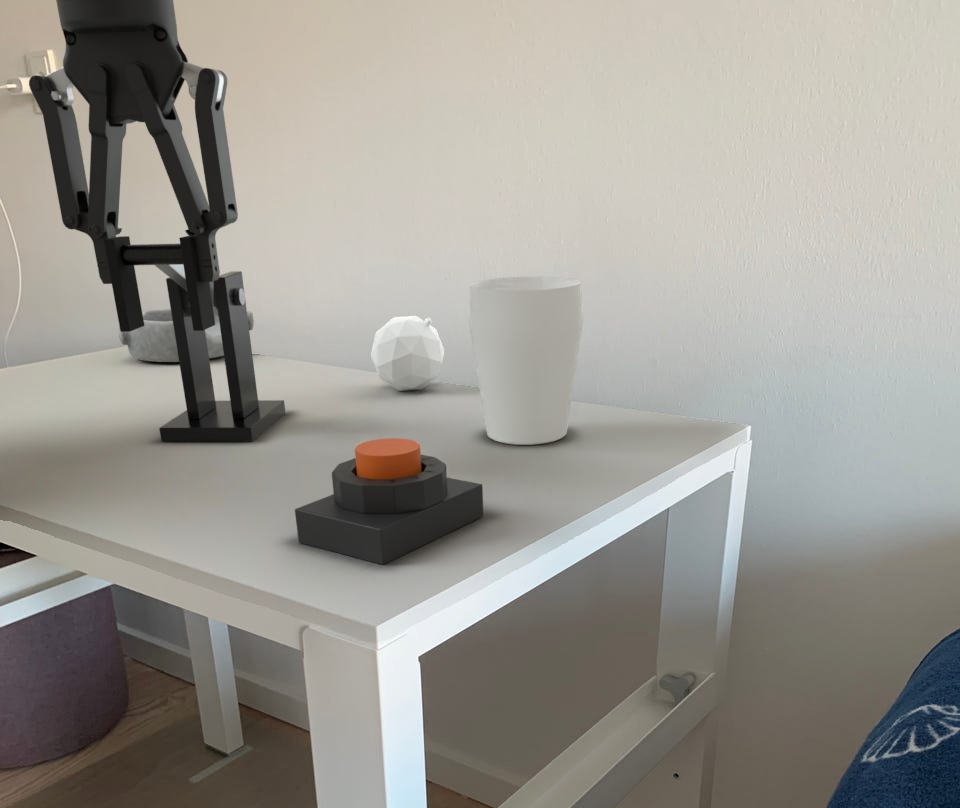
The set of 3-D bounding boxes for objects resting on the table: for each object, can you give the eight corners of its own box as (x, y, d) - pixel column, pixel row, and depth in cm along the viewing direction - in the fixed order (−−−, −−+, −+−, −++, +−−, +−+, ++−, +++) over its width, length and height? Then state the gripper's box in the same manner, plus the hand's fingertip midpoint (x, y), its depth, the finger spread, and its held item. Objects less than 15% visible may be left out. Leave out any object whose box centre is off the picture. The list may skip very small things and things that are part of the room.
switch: (184, 266, 73) (185, 233, 73) (119, 268, 74) (120, 235, 74) (242, 316, 85) (242, 287, 85) (185, 317, 86) (186, 288, 86)
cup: (456, 445, 81) (450, 290, 76) (493, 418, 89) (490, 275, 83) (564, 453, 78) (565, 291, 73) (593, 424, 86) (596, 276, 80)
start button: (392, 487, 60) (390, 459, 59) (343, 477, 62) (341, 449, 61) (434, 471, 63) (433, 443, 62) (386, 461, 65) (384, 435, 64)
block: (383, 565, 58) (378, 499, 57) (298, 542, 62) (290, 480, 60) (483, 516, 65) (482, 456, 64) (402, 498, 69) (398, 442, 67)
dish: (265, 345, 127) (260, 303, 124) (215, 366, 115) (209, 321, 112) (162, 343, 130) (155, 303, 128) (102, 364, 118) (94, 320, 115)
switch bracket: (252, 441, 84) (231, 281, 79) (161, 441, 85) (133, 283, 79) (285, 413, 93) (268, 267, 87) (202, 413, 94) (180, 268, 88)
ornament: (415, 376, 106) (455, 315, 101) (423, 416, 101) (465, 354, 96) (356, 348, 102) (394, 283, 98) (361, 388, 97) (402, 322, 93)
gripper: (259, -33, 69) (296, 318, 79) (11, -20, 71) (79, 322, 81) (222, -52, 62) (268, 335, 72) (-51, -37, 64) (32, 338, 74)
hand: (168, 327), depth 77 cm, fingers closed on switch, 5 cm apart
